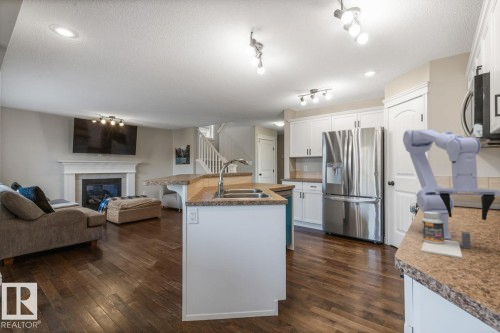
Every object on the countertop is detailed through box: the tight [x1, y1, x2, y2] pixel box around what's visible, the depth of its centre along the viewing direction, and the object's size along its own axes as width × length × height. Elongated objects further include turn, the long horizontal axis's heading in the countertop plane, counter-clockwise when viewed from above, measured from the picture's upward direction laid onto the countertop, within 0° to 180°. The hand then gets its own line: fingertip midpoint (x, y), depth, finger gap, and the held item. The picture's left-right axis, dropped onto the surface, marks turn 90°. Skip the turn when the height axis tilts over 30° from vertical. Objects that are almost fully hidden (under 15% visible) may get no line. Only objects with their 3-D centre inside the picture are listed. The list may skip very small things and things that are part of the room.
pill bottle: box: [421, 212, 445, 244], centre depth 76 cm, size 6×6×10 cm
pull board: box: [421, 231, 472, 259], centre depth 71 cm, size 18×12×4 cm, turn 139°
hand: (466, 218), depth 70 cm, fingers open, 7 cm apart
